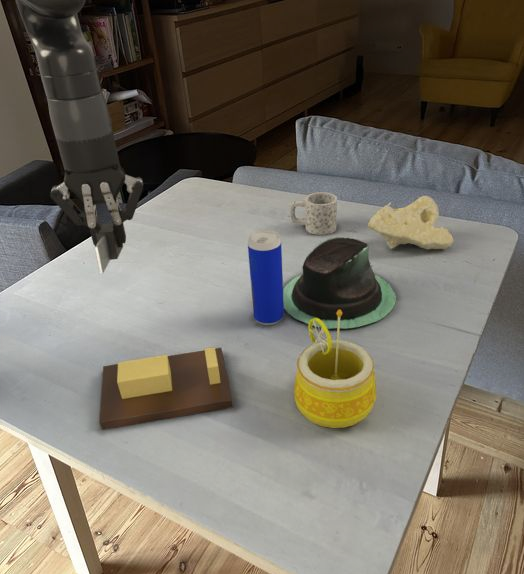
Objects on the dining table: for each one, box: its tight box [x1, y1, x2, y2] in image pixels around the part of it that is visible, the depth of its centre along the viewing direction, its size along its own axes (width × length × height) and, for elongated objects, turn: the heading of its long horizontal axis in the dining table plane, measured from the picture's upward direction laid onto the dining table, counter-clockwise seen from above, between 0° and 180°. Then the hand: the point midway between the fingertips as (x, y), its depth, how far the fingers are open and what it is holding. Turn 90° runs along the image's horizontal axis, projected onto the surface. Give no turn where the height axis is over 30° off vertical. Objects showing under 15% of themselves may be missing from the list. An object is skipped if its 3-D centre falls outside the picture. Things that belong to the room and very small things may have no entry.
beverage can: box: [247, 229, 285, 326], centre depth 86 cm, size 5×5×15 cm
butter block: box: [117, 354, 172, 399], centre depth 76 cm, size 7×4×3 cm, turn 101°
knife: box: [94, 222, 124, 275], centre depth 78 cm, size 19×2×4 cm, turn 10°
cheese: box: [367, 195, 454, 250], centre depth 106 cm, size 15×7×15 cm
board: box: [98, 347, 234, 431], centre depth 77 cm, size 18×12×2 cm, turn 101°
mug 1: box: [289, 191, 338, 236], centre depth 114 cm, size 10×7×7 cm, turn 77°
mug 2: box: [293, 310, 377, 429], centre depth 70 cm, size 13×11×12 cm
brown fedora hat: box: [283, 236, 397, 330], centre depth 92 cm, size 15×19×20 cm
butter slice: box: [204, 346, 220, 385], centre depth 77 cm, size 2×4×3 cm, turn 11°
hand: (111, 245), depth 83 cm, fingers closed on knife, 2 cm apart
